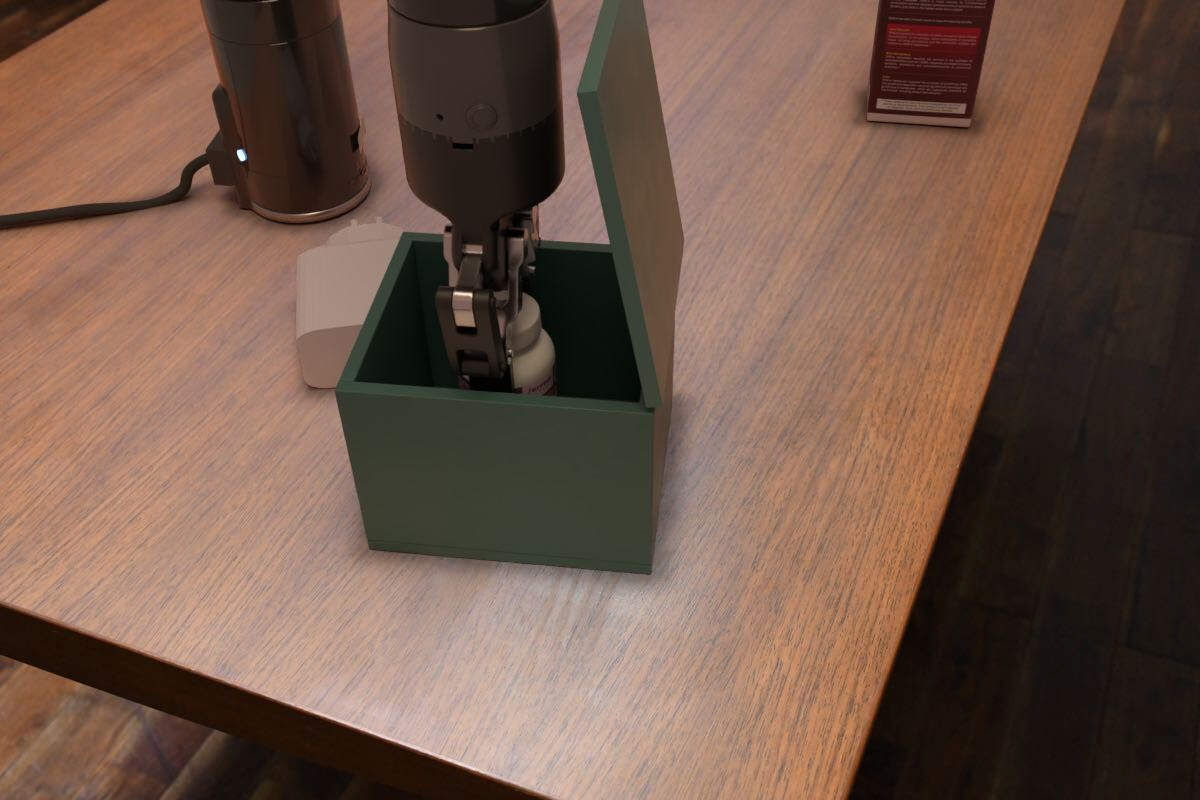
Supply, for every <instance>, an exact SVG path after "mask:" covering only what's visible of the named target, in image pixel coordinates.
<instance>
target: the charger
mask: <svg viewBox="0 0 1200 800" xmlns="http://www.w3.org/2000/svg"><path fill="white" fill-rule="evenodd" d="M349 223H350V225H347V226H346V227H344V228H342V229H340V230H339V231H337V232H335V233H333V234H332V235H330V236H329V237H328V239H327V240H326V242H325V243H326V244H322V245H317V246H314V247H312V248H309V249H308V250H305V251H304V252H302V253H300V254H299V255H298V256H297V257H296V261H295V263H296V264H295V266H296V270H295V278H296V279H295V346H296V347H295V348H296V351H297V355H298V360H299V364H300V367H301V373H302V377H303V381H304V382H305V383H306V385H308V386H310V387H314V388H318V389H332V388H334V389H335V388H336V386H337V383H338V381H339V379H340V377H341V374H342V372H343V370H344V367H345V365H346V363H347V360H348V358H349V356H350V353H351V351H352V349H353V346H354V344H355V342H356V339H357V337H358V335H359V333H360V330H361V328H362V326H363V323H364V321H365V319H366V316H367V314H368V312H369V309H370V307H371V305H372V302H373V300H374V298H375V295H376V293H377V291H378V288H379V286H380V284H381V281H382V279H383V277H384V274H385V272H386V270H387V268H388V265H389V263H390V261H391V258H392V256H393V254H394V251H395V249H396V247H397V244H398V242H399V240H400V237H401V235H402V233H403V232H408V231H407V230H406V229H405V228H404V227H401V226H397V225H394V224H389V223H386V222H383V217H382V216H380V215H378V216H375V218H374V222H372V223H364V224H363V223H362V224H359V220H358V219H356V218H352V219H350V222H349Z"/></svg>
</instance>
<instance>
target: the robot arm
mask: <svg viewBox="0 0 1200 800" xmlns="http://www.w3.org/2000/svg"><path fill="white" fill-rule="evenodd" d="M199 3H200V7H201V11H202V15H203V20H204V24H205V27H206V31H207V36H208V39H209V43H210V47H211V52H212V55H213V59H214V63H215V64H214V65H215V67H216V71H217V76H218V79H219V83H218V84H217V85H216V87H215V88H214V89H213V91H212V93H211V100H212V104H213V108H214V113H215V116H216V120H217V124H218V128H219V130H218V131H217V132H216V134H215V136H214V137H213V138H212V139H211V141H210V143H209V144H208V145H207V147H206V148H205V150H204V151H205V153H203V154H201V155H199V156H197V157H194V158H193V159H191V161H190V162H188V163H187V164H186V165H185V166H184V167H183V169H182V171H181V175H180V180H179V183H178V186H176V187H175V188H173V189H172V190H170V191H168V192H167V193H164V194H162V195H160V196H157V197H153V198H149V199H144V200H137V201H136V200H135V201H122V202H121V201H120V202H118V201H117V202H93V203H82V204H73V205H68V206H61V207H54V208H47V209H40V210H34V211H26V212H18V213H10V214H9V213H8V214H2V215H0V228H2V227H11V226H19V225H26V224H27V225H29V224H34V223H41V222H49V221H55V220H63V219H68V218H76V217H82V216H95V215H114V214H127V213H131V212H138V211H144V210H148V209H153V208H158V207H163V206H167V205H170V204H173V203H176V202H177V201H179V200H180V199H183V197H185V196H187V194H188V193H189V192H190V190H191V188H192V185H193V179H194V176H195V175H196V173H197V172H198V171H199V170H200V169H202V168H204V167H206V166H209V169H210V173H211V177H212V180H213V185H215V186H224V187H225V186H226V187H234V190H235V194H236V199H237V202H238V206H239V208H240V209H250V210H253V211H254V212H255V213H257V214H258V215H260V216H262V217H263V218H266V219H268V220H272V221H277V222H280V223H281V222H282V223H290V224H301V223H302V224H304V223H314V222H321V221H324V220H329V219H331V218H334V217H337V216H340V215H343V214H344V213H346V212H348V211H350V210H352V209H354V208H355V207H356V206H357V205H359V204H360V203H361V202H363V200H364V199H365V198H366V197H367V195H368V194H369V192H370V190H371V185H372V180H371V174H370V170H369V167H368V160H367V155H366V151H365V146H364V142H365V136H366V132H367V129H366V124H365V123H366V122H365V118H364V117H365V116H362V117H361V121H360V116H359V110H358V106H357V105H358V102H357V97H356V93H355V86H354V80H353V75H352V74H353V73H352V69H351V61H350V56H349V51H348V45H347V39H346V33H345V32H346V31H345V27H344V20H343V15H342V9H341V4H340V0H199ZM554 3H555V2H554V0H386V5H387V6H386V7H387V46H388V47H387V48H388V50H387V51H388V59H389V66H390V74H391V80H392V87H393V94H394V101H395V107H396V108H395V109H396V114H397V115H396V116H397V121H398V122H397V123H398V128H399V129H398V130H399V136H400V142H401V150H402V156H403V164H404V170H405V171H404V172H405V177H406V182H407V185H408V187H409V189H410V191H411V192H412V194H413V196H415V197H416V199H417V200H419V201H420V202H421V203H423V205H425V206H427V207H428V208H430V209H432V210H434V211H436V212H437V213H439V214H441V215H442V216H443V217H444V218H446V219H447V220H448V221H449V222H450V223H445V225H444V228H443V234H444V236H443V242H444V257H445V259H446V261H447V262H448V264H449V286H439V287H438V290H437V293H436V294H435V304H436V308H437V312H438V317H439V321H440V326H441V330H442V334H443V339H444V343H445V347H446V352H447V356H448V360H449V365H450V369H451V373H452V375H453V376H463V375H464V376H469V384H470V390H475V391H488V392H501V393H515V384H514V373H513V361H512V358H513V355H514V348H512V322H513V321H515V320H516V318H517V317H518V315H519V314H520V312H521V311H522V294H523V293H526V294H527V295H529V296H531V297H532V287H531V282H532V281H533V278H534V275H536V266H535V265H534V262H535V260H536V255H537V252H538V248H539V246H540V245H541V240H542V238H541V236H540V209H539V207H540V204H541V203H543V202H545V201H546V200H548V198H550V197H551V196H552V195H553V194H554V193H555V192H556V191H557V190H558V188H559V187H560V185H561V184H562V182H563V179H564V177H565V172H566V152H565V151H566V147H565V126H564V124H565V123H564V102H563V77H562V75H563V74H562V52H561V39H560V38H561V37H560V31H559V24H558V20H557V15H556V8H555V4H554ZM503 290H508V299H507V300H497V298H496V297H494V292H501V291H503Z"/></svg>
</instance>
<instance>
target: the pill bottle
mask: <svg viewBox="0 0 1200 800" xmlns="http://www.w3.org/2000/svg"><path fill="white" fill-rule="evenodd" d="M494 297H496V298H497V300H507V299H508V290H503V291H501V292H494ZM512 348H514V355H513V358H512V361H513V373H514V384H515V394H528V395H542V396H555V397H557V384H556V356H555V349H554V345H553V342H552V340H551V338H550V336H549V335H548V334H547V333H546V331H545V330H544V329H542V324H541V316H540V309H539V306H538V304H537V302H536V301H535V300H534V299H533V298H532V297H531V296H529V295H527V294H526V293H523V294H522V311H521V312H520V314H519V315H518V317H517V318H516V320H515V321H513V322H512ZM458 381H459V389H461V390H470V384H469V376H464V375H463V376H458Z"/></svg>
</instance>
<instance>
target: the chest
mask: <svg viewBox="0 0 1200 800" xmlns="http://www.w3.org/2000/svg"><path fill="white" fill-rule="evenodd" d="M443 236H444V233H432V232H416V231H415V232H414V231H407V232H403V233H402V235H401V237H400V240H399V242H398V244H397V247H396V249H395V251H394V254H393V256H392V258H391V261H390V263H389V265H388V268H387V270H386V272H385V274H384V277H383V279H382V281H381V284H380V286H379V288H378V291H377V293H376V295H375V298H374V300H373V302H372V305H371V307H370V309H369V312H368V314H367V316H366V319H365V321H364V323H363V326H362V328H361V330H360V333H359V335H358V337H357V339H356V342H355V344H354V346H353V349H352V351H351V353H350V356H349V358H348V360H347V363H346V365H345V367H344V370H343V372H342V374H341V377H340V379H339V381H338V383H337V386H336V387H334V390H333V391H334V395H335V400H336V404H337V409H338V414H339V418H340V422H341V428H342V432H343V436H344V441H345V445H346V450H347V454H348V458H349V464H350V468H351V473H352V477H353V482H354V486H355V490H356V496H357V499H358V504H359V509H360V513H361V517H362V523H363V526H364V531H365V535H366V540H367V545H368V549H369V550H371V551H373V550H375V551H383V552H384V551H385V552H397V553H405V554H407V553H408V554H419V555H428V556H430V555H431V556H440V557H441V556H442V557H451V558H452V557H453V558H463V559H475V560H486V561H498V562H509V563H520V564H531V565H542V566H553V567H563V568H565V567H566V568H577V569H586V570H597V571H610V572H620V573H621V572H622V573H632V574H633V573H634V574H643V575H651V574H652V571H653V563H654V554H655V548H656V547H655V545H656V538H657V529H658V523H659V522H658V521H659V515H660V514H659V513H660V506H661V498H662V489H663V480H664V473H665V466H666V457H667V449H668V441H669V432H670V424H671V417H672V409H673V390H674V389H673V388H674V386H673V385H674V358H675V357H674V355H675V331H676V330H675V328H676V327H675V326H676V316H675V317H674V324H673V332H672V339H671V347H670V355H669V362H668V370H667V378H666V385H665V393H664V400H663V406H662V407H648V408H647V407H646V404H645V399H644V395H643V390H642V386H641V381H640V377H639V372H638V368H637V363H636V359H635V354H634V350H633V345H632V341H631V336H630V332H629V327H628V323H627V318H626V314H625V309H624V305H623V300H622V296H621V291H620V287H619V282H618V278H617V273H616V269H615V264H614V260H613V255H612V251H611V246H610V243H598V242H597V243H596V242H583V241H581V242H580V241H566V240H565V241H564V240H548V239H547V240H546V239H541V245H540V246H539V248H538V252H537V255H536V260H535V262H534V265H535V266H536V275H534V278H533V281H532V282H531V287H532V298H533V299H534V300H535V301H536V302H537V304H538V306H539V309H540V316H541V324H542V329H544V330H545V331H546V333H547V334H548V335H549V336H550V338H551V340H552V342H553V345H554V349H555V356H556V384H557V397H555V396H542V395H528V394H515V393H501V392H488V391H475V390H461V389H459V381H458V376H453V375H452V373H451V369H450V365H449V360H448V356H447V352H446V347H445V343H444V339H443V334H442V330H441V326H440V321H439V317H438V312H437V308H436V304H435V294H436V293H437V290H438V287H439V286H449V264H448V262H447V261H446V259H445V257H444V242H443Z"/></svg>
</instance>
